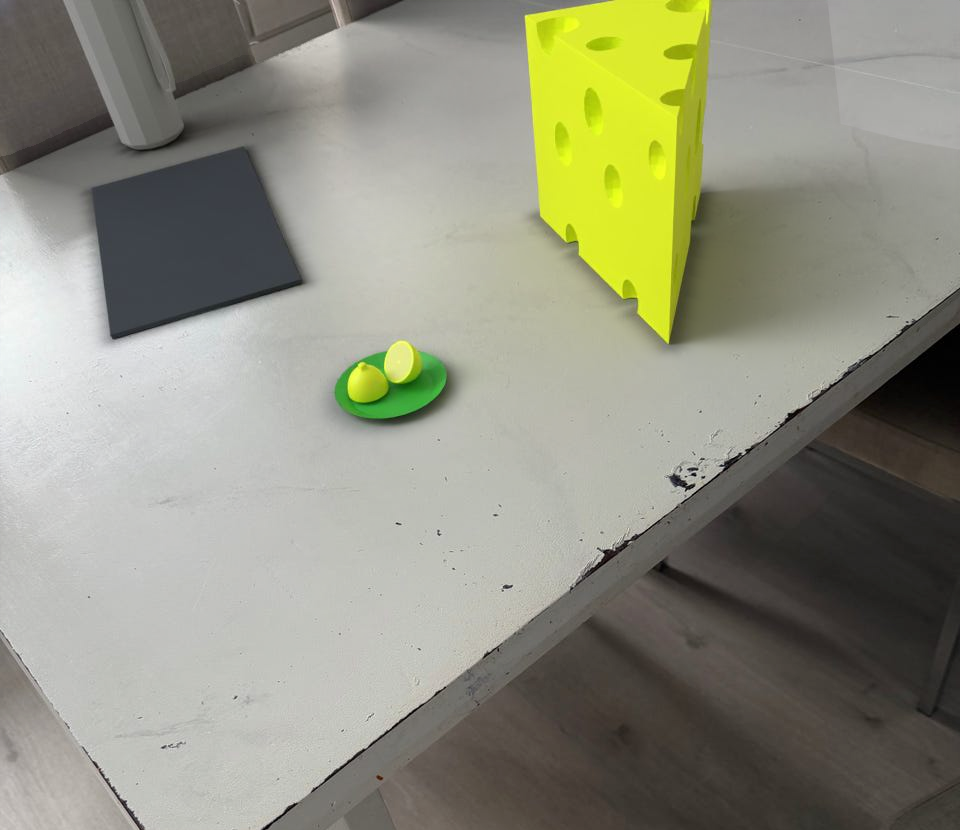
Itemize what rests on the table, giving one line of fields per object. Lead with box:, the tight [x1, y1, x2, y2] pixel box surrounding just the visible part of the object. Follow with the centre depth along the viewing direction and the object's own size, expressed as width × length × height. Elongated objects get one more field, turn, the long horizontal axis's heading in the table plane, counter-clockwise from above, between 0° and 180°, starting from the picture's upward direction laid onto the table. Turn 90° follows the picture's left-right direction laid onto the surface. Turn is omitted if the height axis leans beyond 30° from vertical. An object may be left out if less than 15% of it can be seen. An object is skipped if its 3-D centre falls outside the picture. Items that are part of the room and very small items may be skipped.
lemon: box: [334, 340, 448, 419], centre depth 63 cm, size 8×8×3 cm
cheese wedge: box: [524, 0, 713, 345], centre depth 66 cm, size 19×20×15 cm
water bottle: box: [62, 0, 185, 151], centre depth 89 cm, size 9×8×25 cm
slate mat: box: [91, 145, 303, 340], centre depth 83 cm, size 30×16×1 cm, turn 19°
